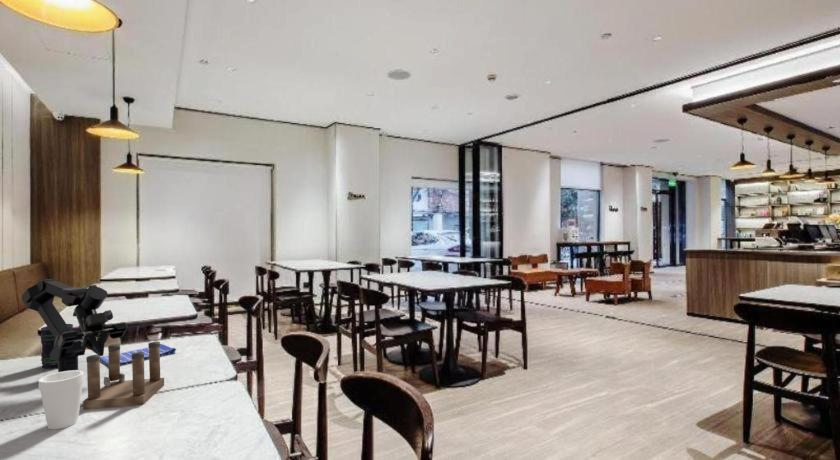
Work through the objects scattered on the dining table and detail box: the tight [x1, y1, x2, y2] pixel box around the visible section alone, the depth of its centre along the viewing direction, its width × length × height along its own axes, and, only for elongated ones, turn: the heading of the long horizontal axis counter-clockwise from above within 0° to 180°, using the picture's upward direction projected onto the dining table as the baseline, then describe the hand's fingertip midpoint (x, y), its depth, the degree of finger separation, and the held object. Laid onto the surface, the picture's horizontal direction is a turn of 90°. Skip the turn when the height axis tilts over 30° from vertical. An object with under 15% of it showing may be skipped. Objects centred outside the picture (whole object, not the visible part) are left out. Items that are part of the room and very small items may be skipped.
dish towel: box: [100, 343, 177, 367], centre depth 180 cm, size 17×24×3 cm
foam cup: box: [38, 369, 85, 430], centre depth 118 cm, size 10×9×13 cm
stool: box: [82, 341, 165, 410], centre depth 137 cm, size 17×17×15 cm
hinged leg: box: [107, 343, 121, 382], centre depth 141 cm, size 3×3×11 cm
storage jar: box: [40, 323, 74, 370], centre depth 170 cm, size 10×10×15 cm
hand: (101, 355), depth 147 cm, fingers closed
